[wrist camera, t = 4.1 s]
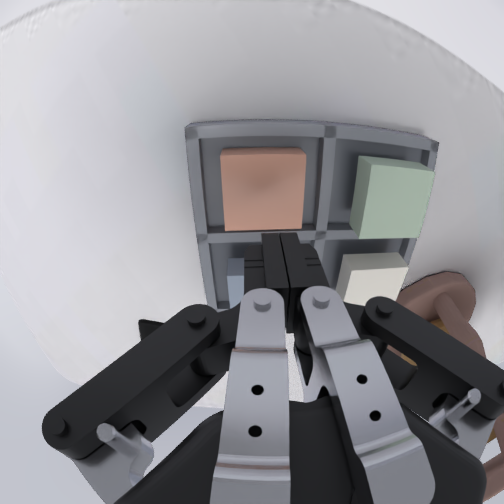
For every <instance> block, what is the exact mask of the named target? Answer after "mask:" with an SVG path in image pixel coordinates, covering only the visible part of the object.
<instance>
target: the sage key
mask: <svg viewBox="0 0 504 504" xmlns="http://www.w3.org/2000/svg"><path fill="white" fill-rule="evenodd" d="M434 176H435V172H434V171H433V170H431V169H429V168H428V167H426V166H424V165H423V164H421V163H419V162H412V161H405V160H397V159H389V158H380V157H370V156H359V157H358V166H357V174H356V182H355V189H354V196H353V203H352V209H351V216H350V222H349V225H350V226H351V228H352V229H353V231H354V232H355V234H356V235H357V237H358V238H359V239H378V238H419V235H420V232H421V228H422V225H423V221H424V218H425V214H426V210H427V206H428V202H429V198H430V194H431V190H432V185H433V181H434Z"/></svg>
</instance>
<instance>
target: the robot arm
mask: <svg viewBox="0 0 504 504" xmlns="http://www.w3.org/2000/svg"><path fill="white" fill-rule="evenodd" d="M285 327H286V333H294V338H295V342H294V354H295V358H296V362H297V366H298V371H299V375H300V379H301V383H302V387H303V394H304V402H297V401H290V400H289V379H288V352H287V349H286V344H285ZM388 345H390V346H391V347H393V348H394V349H396V350H397V351H399V352H400V353H402V354H403V355H405V356H406V357H408V358H409V359H411V360H412V361H414V362H415V363H416V364H417V366H415V365H412V364H410V363H408V362H407V361H405V360H404V359H402V358H401V357H399V356H398V355H396V354H395V353H394V352H392V351H391V350H389V349H388V348H387V347H388ZM226 371H229V374H228V382H227V389H226V397H225V405H224V410H223V411H220V412H218V413H216V414H214V415H212V416H210V417H209V418H207V419H206V420H204V421H203V422H202V423H200V424H199V425H198V426H197V427H196V428H195V429H194V430H193V431H192V432H191V433H190V434H189V435H188V436H187V437H186V438H185V439H184V440H183V442H181V443H180V444H179V445H178V446H177V447H176V448H175V449H174V450H173V451H172V452H171V453H170V454H169V455H168V456H167V457H166V458H165V459H163V460H162V461H161V462H160V463H159V464H158V465H157V466H156V467H155V468H154V469H153V470H151V471H150V472H149V473H148V474H147V475H146V476H145V477H144V478H143V475H144V472H145V470H146V468H147V467H148V466H149V465H150V464H151V462H152V460H153V458H154V449H153V446H152V444H151V443H152V442H153V441H154V440H155V439H156V438H157V437H159V436H160V435H161V434H162V433H163V432H164V431H165V430H167V429H168V428H169V427H170V426H171V425H172V424H173V423H174V422H176V421H177V420H178V419H179V418H180V417H181V416H182V415H183V414H184V413H185V412H187V410H189V409H190V408H191V407H192V406H193V405H194V404H195V403H196V402H197V401H198V400H199V399H200V398H202V397H203V396H204V395H205V394H206V393H207V392H208V391H209V390H210V389H211V388H212V387H213V386H214V385H215V384H216V383H217V382H218V381H219V380H220V379H221V378H222V377H223V376H224V375H225V373H226ZM414 412H415V413H414ZM503 413H504V370H502V369H501V368H499V367H498V366H497V365H495V364H494V363H492V362H491V361H489V360H488V359H486V358H485V357H483V356H482V355H480V354H478V353H477V352H475V351H474V350H472V349H471V348H469V347H468V346H466V345H465V344H463V343H462V342H460V341H458V340H457V339H455V338H454V337H452V336H451V335H449V334H447V333H446V332H444V331H443V330H441V329H440V328H438V327H436V326H435V325H433V324H432V323H430V322H428V321H427V320H425V319H423V318H422V317H420V316H419V315H417V314H415V313H414V312H412V311H410V310H409V309H407V308H406V307H404V306H402V305H401V304H399V303H397V302H396V301H394V300H392V299H390V298H387V297H383V296H376V297H372V298H370V299H369V300H368V301H367V302H366V304H365V306H362V305H356V304H351V303H347V302H344V301H342V299H341V297H340V295H339V294H338V293H337V292H336V291H334V290H333V289H331V288H330V286H329V283H328V280H327V277H326V275H325V272H324V269H323V267H322V264H321V261H320V259H319V256H318V253H317V251H316V249H315V248H314V247H312V246H311V245H310V244H309V243H305V244H300V241H299V238H298V235H297V232H284V233H261V245H249V246H248V248H247V249H246V250H245V252H244V296H243V298H242V300H241V301H240V302H239V303H238V304H237V305H236V306H234V307H233V308H230V309H228V310H224V311H221V312H217V311H216V310H215V309H214V308H212V307H210V306H208V305H203V304H195V305H191V306H188V307H186V308H184V309H182V310H181V311H180V312H178V313H177V314H176V315H175V316H173V317H172V318H171V319H169V320H168V321H167V322H165V323H164V324H163V325H161V326H160V327H159V328H158V329H156V330H155V331H154V332H152V333H151V334H150V335H148V336H147V337H146V338H144V339H143V340H142V341H140V342H139V343H138V344H137V345H135V346H134V347H133V348H131V349H130V350H129V351H127V352H126V353H125V354H123V355H122V356H121V357H119V358H118V359H117V360H116V361H114V362H113V363H112V364H110V365H109V366H108V367H106V368H105V369H104V370H102V371H101V372H100V373H98V374H97V375H96V376H95V377H93V378H92V379H91V380H89V381H88V382H87V383H85V384H84V385H83V386H81V387H80V388H79V389H77V390H76V391H75V392H73V393H72V394H71V395H70V396H68V397H67V398H66V399H64V400H63V401H62V402H60V403H59V404H58V405H56V406H55V407H54V408H52V409H51V410H50V411H49V412H48V413H47V414H46V416H45V417H44V419H43V423H42V433H43V436H44V439H45V440H46V442H47V443H48V444H49V445H50V446H51V447H53V448H55V449H56V450H58V451H59V452H61V453H63V454H64V455H66V456H67V457H68V458H70V459H71V460H72V461H73V462H74V463H75V465H76V466H77V467H78V469H79V470H80V472H81V473H82V475H83V476H84V477H85V479H86V480H87V481H88V483H89V484H90V485H91V486H92V488H93V489H94V490H95V491H96V492H97V494H98V495H99V496H100V498H101V499H102V500H103V501H104V502H105V503H106V504H482V503H483V499H484V495H485V491H486V484H487V477H486V471H485V469H484V466H483V464H482V463H481V462H480V460H479V459H480V457H481V455H482V453H483V451H484V448H485V446H486V444H487V441H488V439H489V436H490V434H491V431H492V429H493V426H494V423H495V420H496V419H497V418H498V417H499V416H500V415H501V414H503ZM417 414H418V415H419V416H418V415H417ZM420 416H421V417H422V418H424V419H425V420H427V421H428V422H429V423H428V422H426V421H425V420H424V419H422V418H421V417H420Z"/></svg>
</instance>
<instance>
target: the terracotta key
mask: <svg viewBox="0 0 504 504" xmlns="http://www.w3.org/2000/svg"><path fill="white" fill-rule="evenodd" d="M220 162H221V178H222V194H223V208H224V222H225V231H237V230H269V229H301V228H302V216H303V203H304V188H305V172H306V154H305V153H304V152H303V150H302V149H301V148H298V147H250V148H224V149H222V152H221V155H220Z"/></svg>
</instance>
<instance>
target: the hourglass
mask: <svg viewBox="0 0 504 504" xmlns="http://www.w3.org/2000/svg"><path fill="white" fill-rule="evenodd" d="M396 302H397V303H399V304H401V305H402V306H404V307H406V308H407V309H409V310H410V311H412V312H414V313H415V314H417V315H419V316H420V317H422V318H423V319H425V320H427V321H428V322H430V323H432V324H433V325H435V326H436V327H438V328H440V329H441V330H443V331H444V332H446V333H447V334H449V335H451V336H452V337H454V338H455V339H457V340H458V341H460V342H462V343H463V344H465V345H466V346H468V347H469V348H471V349H472V350H474V351H475V352H477V353H478V354H480V355H482V356H483V357H485V358H486V355H485V351H484V347H483V343H482V340H481V339H480V337H479V335H478V334H477V332H476V331H475V330H474V329H473V327H472V326H471V325H470V324H469V323H468V321H469V320H470V318H471V316H472V313H473V310H474V307H475V304H476V298H475V290H474V288H473V287H472V286H471V284H470V283H469V282H468V281H467V280H466V279H465V278H464V277H463V275H461V274H458V273H452V272H443V273H439V274H435V275H432V276H428V277H425V278H423V279H422V280H420V281H418V282H416V283H414V284H413V285H411V286H409V287H407V288H405V289H404V290H402V291H401V292H400V293H399V294H398V296H397V299H396ZM387 348H388V349H389V350H391V351H392V352H394V353H395V354H396V355H398V356H399V357H401V358H402V359H404V360H405V361H407V362H408V363H410V364H412V365H415V366H417V364H416V363H415V362H414V361H412V360H411V359H409V358H408V357H406V356H405V355H403V354H402V353H400V352H399V351H397V350H396V349H394V348H393V347H391V346H390V345H388V347H387ZM496 437H497V440H498V443H499V446H500V449H501V453H500V454H498V455H497V456H495V457H494V458H492V459H491V460H489V461H488V462H486V463H484V464H483V466H484V469H485V471H486V477H487V484H486V491H485V495H484V499H483V502H484V501H486V500H488V499H490V498H491V497H493V496H495V495H496V494H498V493H499V492H501V491H502V490H504V413H503V414H501V415H500V416H499V417H498V418H497V419H496V420H495V423H494V426H493V429H492V431H491V434H490V436H489V439H488V441H487V443H489V442H490V441H491V440H493V439H494V438H496Z"/></svg>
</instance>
